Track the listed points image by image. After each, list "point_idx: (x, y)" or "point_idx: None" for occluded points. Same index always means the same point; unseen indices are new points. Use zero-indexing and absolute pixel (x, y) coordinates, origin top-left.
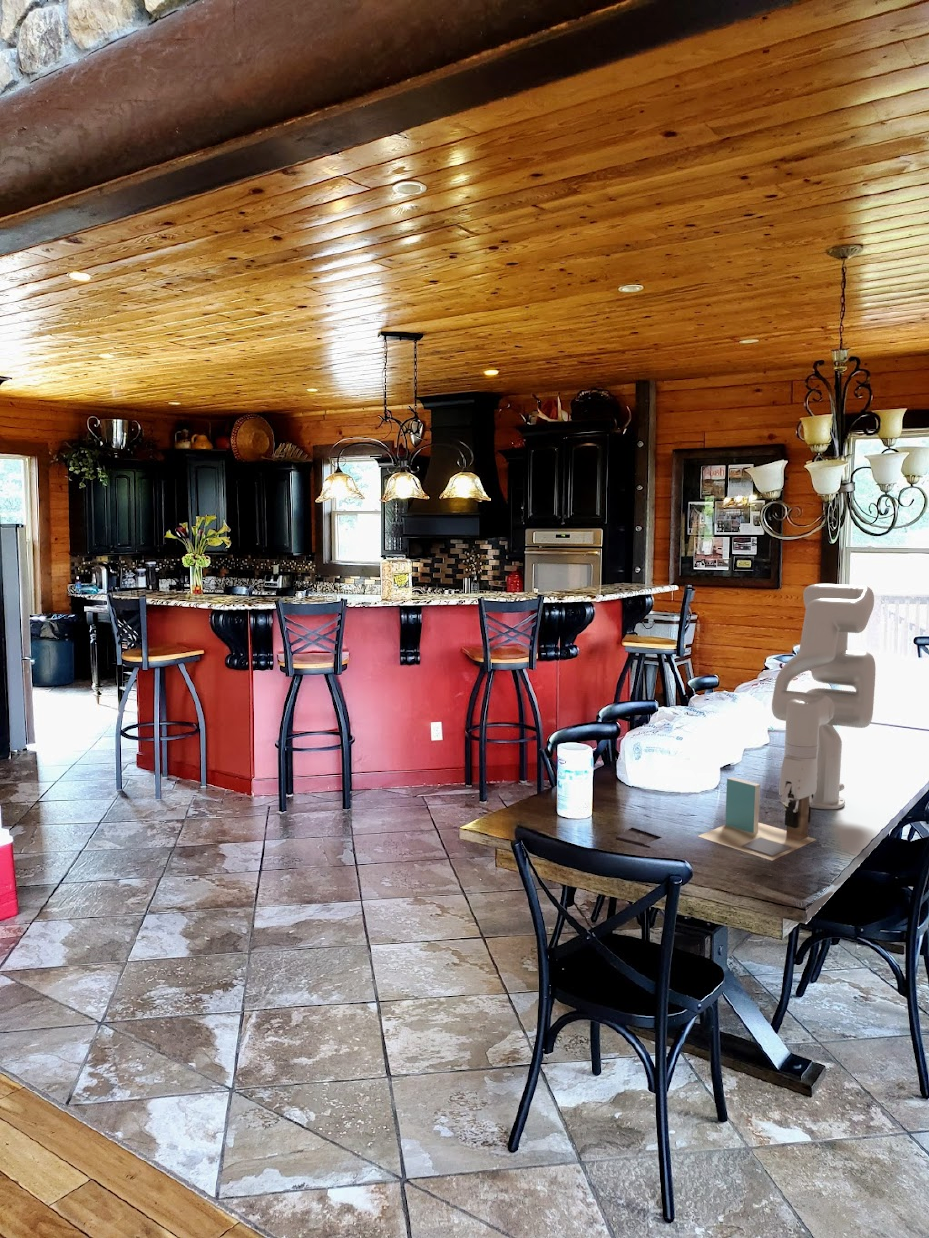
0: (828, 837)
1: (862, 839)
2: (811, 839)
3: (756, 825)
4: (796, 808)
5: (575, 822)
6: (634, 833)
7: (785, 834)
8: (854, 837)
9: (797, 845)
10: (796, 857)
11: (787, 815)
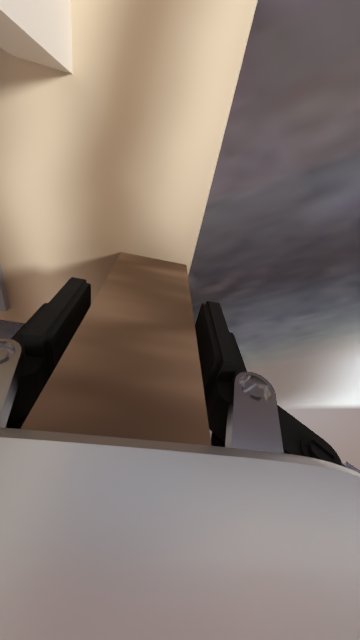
0: (258, 343)
1: (282, 400)
2: None
3: (19, 46)
4: (19, 425)
5: None
6: None
7: (145, 239)
8: (290, 386)
9: None
10: (7, 321)
11: (22, 331)
